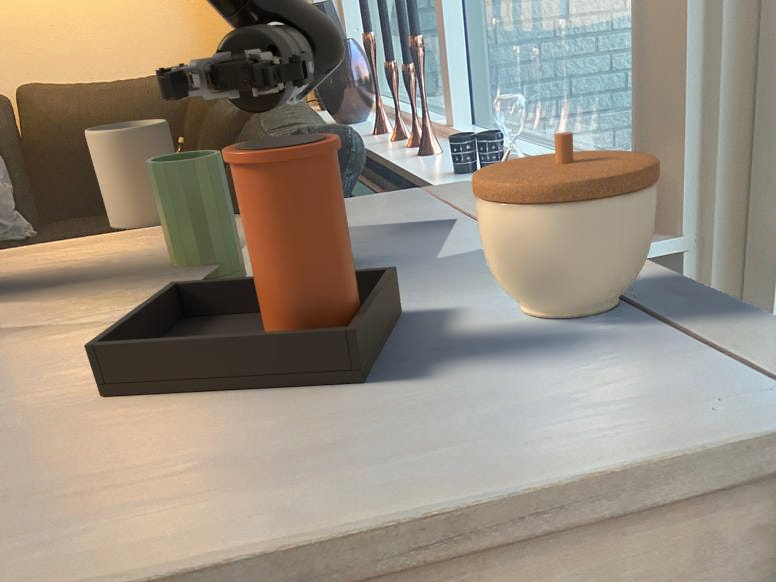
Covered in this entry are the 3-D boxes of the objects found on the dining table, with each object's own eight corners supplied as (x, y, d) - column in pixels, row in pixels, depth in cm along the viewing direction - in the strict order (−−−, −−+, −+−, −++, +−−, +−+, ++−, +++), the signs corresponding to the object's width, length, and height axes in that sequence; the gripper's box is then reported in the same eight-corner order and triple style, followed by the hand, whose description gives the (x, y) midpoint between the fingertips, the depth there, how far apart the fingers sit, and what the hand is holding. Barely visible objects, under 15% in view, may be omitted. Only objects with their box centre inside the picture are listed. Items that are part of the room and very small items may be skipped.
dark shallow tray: (99, 396, 61) (83, 345, 59) (182, 326, 73) (170, 281, 71) (363, 382, 59) (355, 328, 57) (402, 312, 71) (396, 266, 69)
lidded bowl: (591, 272, 76) (588, 116, 70) (694, 302, 67) (701, 125, 61) (452, 305, 72) (435, 141, 65) (541, 342, 62) (532, 155, 56)
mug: (191, 240, 101) (163, 124, 95) (109, 250, 101) (75, 134, 94) (200, 220, 111) (175, 113, 105) (126, 229, 110) (96, 122, 104)
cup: (166, 291, 83) (133, 164, 78) (190, 273, 88) (161, 153, 83) (234, 286, 82) (206, 158, 77) (255, 269, 88) (229, 147, 82)
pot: (251, 364, 61) (204, 154, 54) (280, 331, 67) (241, 137, 60) (358, 358, 60) (325, 144, 53) (378, 325, 66) (350, 128, 59)
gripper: (187, 32, 98) (126, 42, 85) (322, 18, 97) (281, 25, 83) (206, 114, 103) (150, 136, 89) (335, 102, 101) (297, 122, 88)
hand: (213, 82), depth 86 cm, fingers open, 8 cm apart
